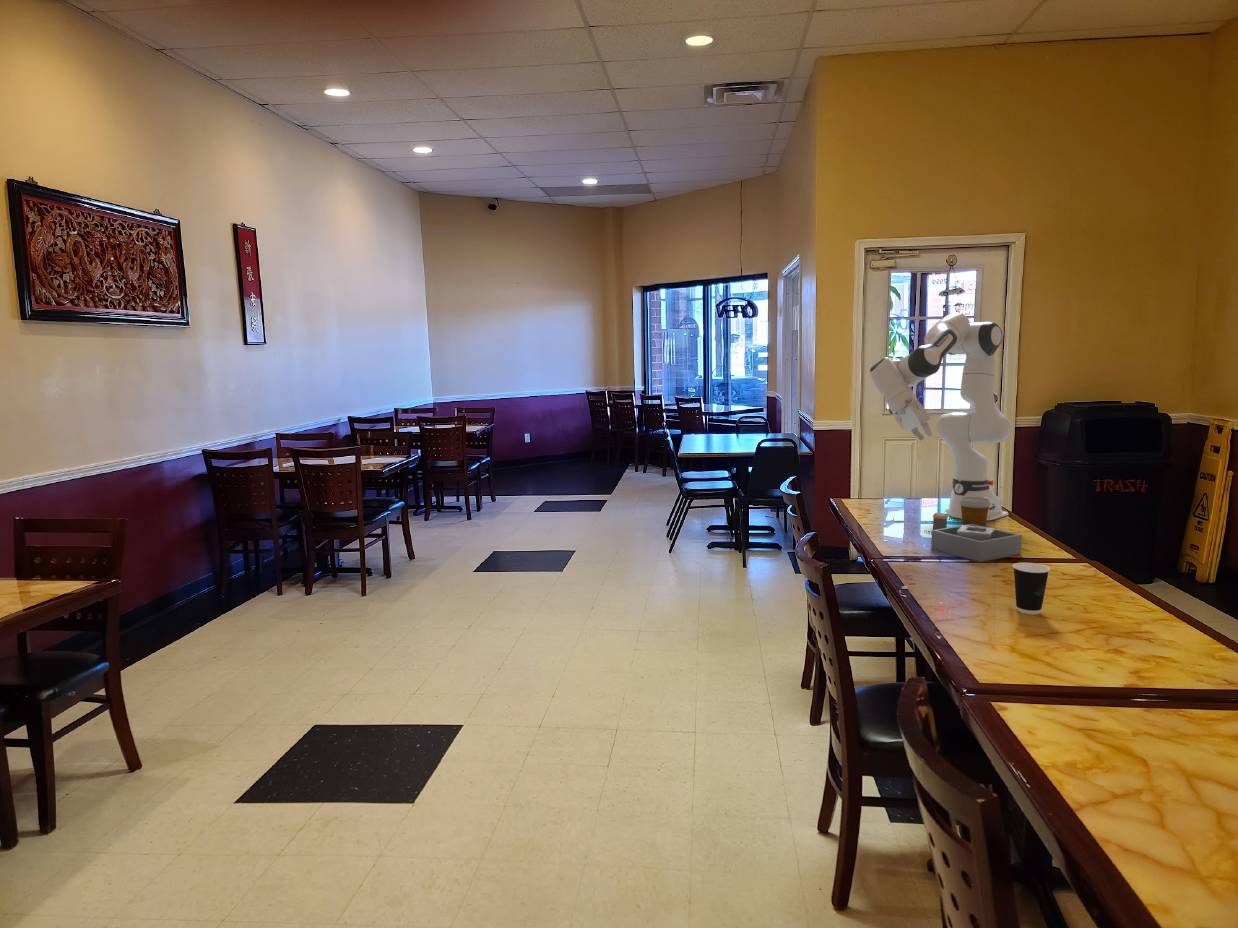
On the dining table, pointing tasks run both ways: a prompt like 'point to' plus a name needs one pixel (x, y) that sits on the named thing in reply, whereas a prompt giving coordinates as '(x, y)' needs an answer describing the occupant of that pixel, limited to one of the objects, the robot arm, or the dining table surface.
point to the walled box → (976, 544)
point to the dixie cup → (1030, 586)
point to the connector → (939, 521)
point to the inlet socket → (976, 532)
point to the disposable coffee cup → (974, 510)
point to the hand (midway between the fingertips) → (925, 438)
